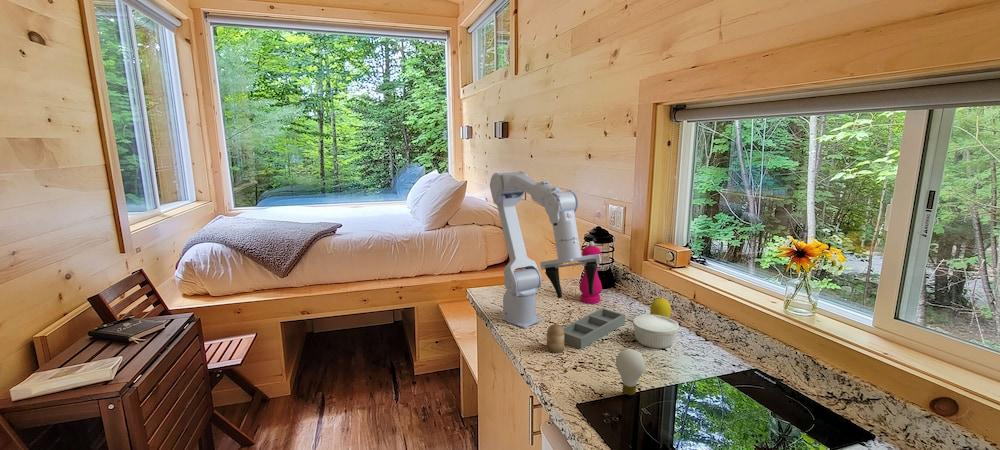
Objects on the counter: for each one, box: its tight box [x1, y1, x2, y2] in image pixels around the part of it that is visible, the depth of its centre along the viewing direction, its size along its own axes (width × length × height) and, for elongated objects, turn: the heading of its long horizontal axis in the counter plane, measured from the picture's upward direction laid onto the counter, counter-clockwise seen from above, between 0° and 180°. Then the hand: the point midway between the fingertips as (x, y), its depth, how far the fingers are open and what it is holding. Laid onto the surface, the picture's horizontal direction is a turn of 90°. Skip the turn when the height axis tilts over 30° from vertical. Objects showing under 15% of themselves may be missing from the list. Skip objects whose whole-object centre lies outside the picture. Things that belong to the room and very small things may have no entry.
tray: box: [562, 307, 626, 350], centre depth 124 cm, size 8×21×3 cm, turn 134°
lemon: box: [649, 296, 672, 319], centre depth 128 cm, size 6×6×8 cm
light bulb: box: [615, 348, 646, 396], centre depth 94 cm, size 6×6×10 cm
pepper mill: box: [578, 240, 603, 305], centre depth 146 cm, size 7×7×20 cm
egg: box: [546, 323, 565, 354], centre depth 114 cm, size 4×4×7 cm
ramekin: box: [632, 314, 680, 349], centre depth 118 cm, size 11×11×5 cm
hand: (575, 295), depth 109 cm, fingers open, 7 cm apart
